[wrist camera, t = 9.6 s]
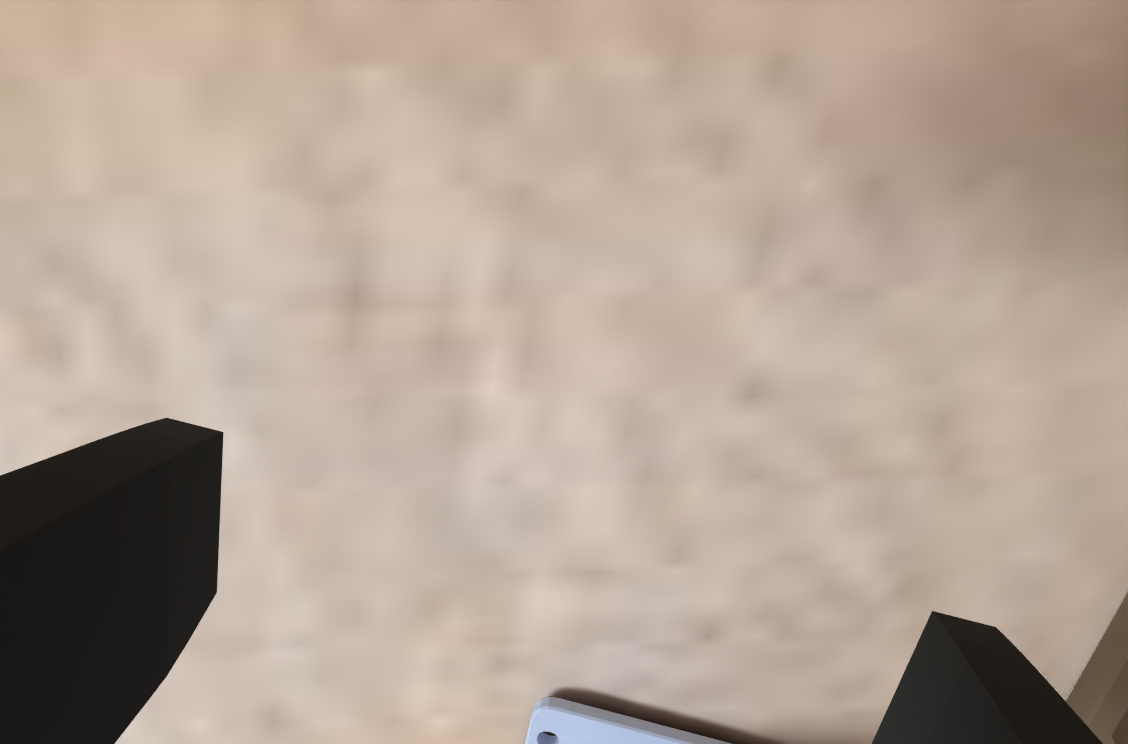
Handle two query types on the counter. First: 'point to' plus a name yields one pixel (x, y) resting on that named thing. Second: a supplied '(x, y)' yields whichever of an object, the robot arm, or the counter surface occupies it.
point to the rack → (1106, 684)
